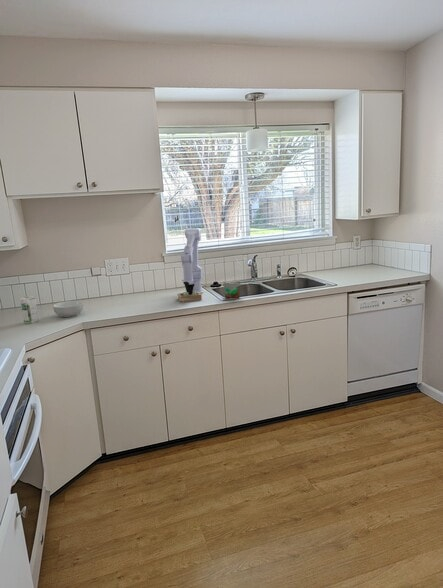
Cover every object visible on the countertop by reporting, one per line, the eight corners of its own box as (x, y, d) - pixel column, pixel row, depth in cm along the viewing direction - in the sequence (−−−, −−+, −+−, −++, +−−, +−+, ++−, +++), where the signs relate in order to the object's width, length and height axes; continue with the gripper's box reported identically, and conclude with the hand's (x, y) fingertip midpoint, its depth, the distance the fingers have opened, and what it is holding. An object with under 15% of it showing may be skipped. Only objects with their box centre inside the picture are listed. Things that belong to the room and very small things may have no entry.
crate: (178, 298, 263) (177, 293, 263) (198, 296, 267) (198, 291, 266) (180, 302, 254) (180, 296, 253) (201, 299, 257) (201, 294, 256)
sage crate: (183, 298, 262) (183, 292, 261) (195, 297, 263) (195, 291, 263) (184, 300, 257) (184, 293, 256) (197, 298, 259) (196, 292, 258)
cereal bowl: (84, 317, 230) (82, 305, 229) (53, 320, 226) (51, 308, 224) (85, 310, 246) (83, 299, 245) (56, 313, 242) (54, 302, 240)
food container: (220, 298, 258) (219, 283, 256) (224, 296, 263) (223, 281, 261) (237, 299, 252) (236, 284, 250) (241, 297, 257) (240, 282, 255)
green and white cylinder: (23, 323, 224) (19, 298, 221) (32, 320, 229) (28, 295, 226) (30, 324, 222) (26, 298, 219) (39, 321, 227) (35, 296, 224)
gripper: (180, 271, 262) (181, 291, 265) (183, 275, 248) (185, 296, 251) (190, 270, 264) (192, 290, 267) (194, 274, 250) (196, 295, 253)
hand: (189, 293), depth 259 cm, fingers open, 7 cm apart
